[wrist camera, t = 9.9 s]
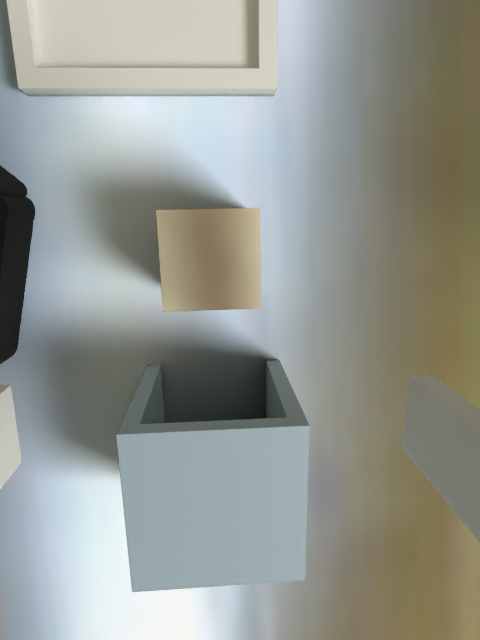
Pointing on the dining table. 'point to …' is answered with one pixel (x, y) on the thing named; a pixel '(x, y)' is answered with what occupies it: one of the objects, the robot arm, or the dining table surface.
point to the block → (209, 258)
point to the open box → (214, 491)
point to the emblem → (13, 258)
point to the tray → (145, 47)
